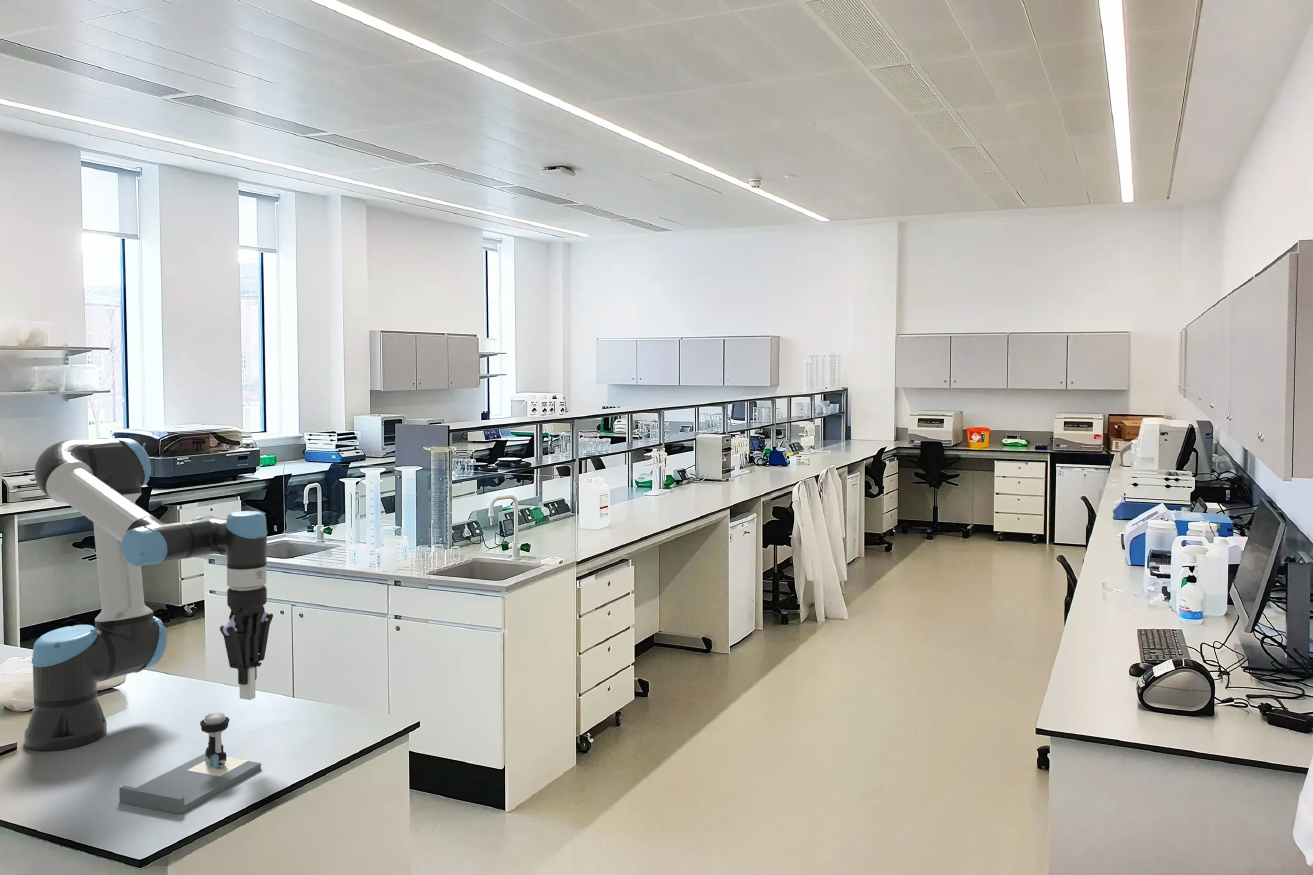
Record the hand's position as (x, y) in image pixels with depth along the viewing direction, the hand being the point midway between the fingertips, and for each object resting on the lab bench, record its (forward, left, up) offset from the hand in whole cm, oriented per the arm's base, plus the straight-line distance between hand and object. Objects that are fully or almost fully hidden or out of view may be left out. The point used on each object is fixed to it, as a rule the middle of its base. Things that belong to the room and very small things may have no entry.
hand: (247, 697), depth 194 cm
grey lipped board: (0, -15, -12) cm, 19 cm away
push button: (0, -8, -11) cm, 14 cm away
